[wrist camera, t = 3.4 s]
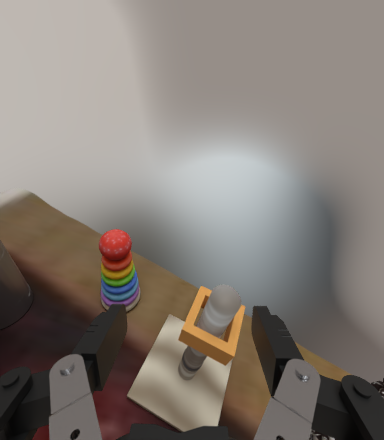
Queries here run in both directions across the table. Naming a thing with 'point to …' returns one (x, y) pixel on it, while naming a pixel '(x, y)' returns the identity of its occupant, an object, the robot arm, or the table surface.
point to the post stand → (187, 369)
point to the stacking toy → (118, 271)
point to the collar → (206, 341)
